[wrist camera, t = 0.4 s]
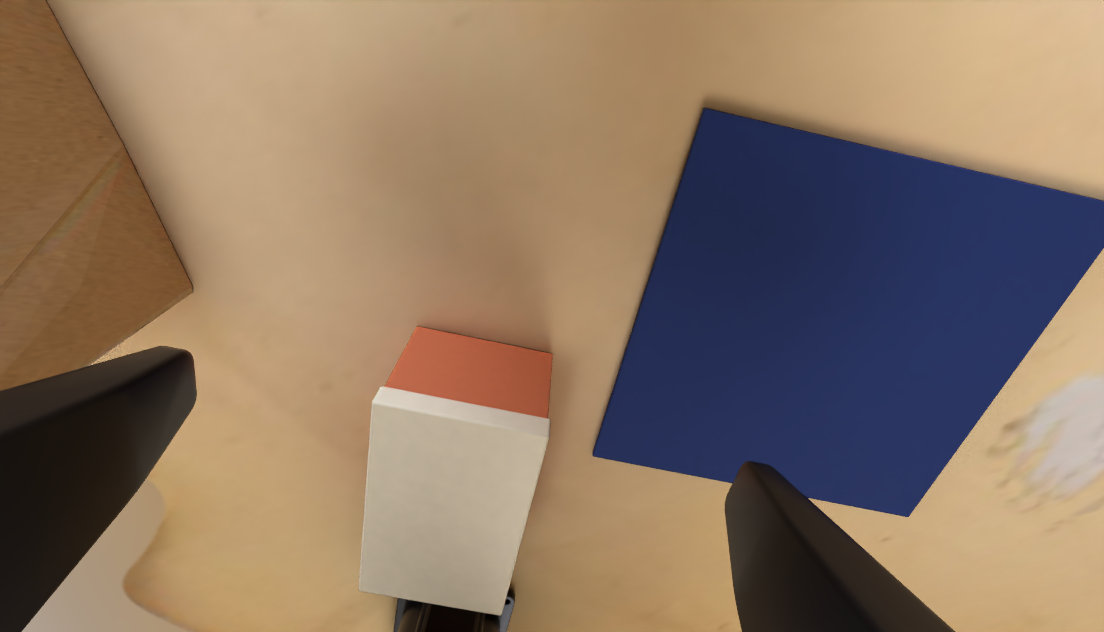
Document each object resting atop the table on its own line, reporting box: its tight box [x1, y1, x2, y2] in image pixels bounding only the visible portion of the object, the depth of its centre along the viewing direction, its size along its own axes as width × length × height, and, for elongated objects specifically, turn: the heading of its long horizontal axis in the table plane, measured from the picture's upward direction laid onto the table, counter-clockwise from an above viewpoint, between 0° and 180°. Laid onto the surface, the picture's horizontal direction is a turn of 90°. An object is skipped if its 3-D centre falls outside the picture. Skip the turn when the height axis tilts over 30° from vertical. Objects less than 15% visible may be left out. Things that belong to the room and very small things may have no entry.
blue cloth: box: [593, 108, 1104, 517], centre depth 23 cm, size 16×16×1 cm
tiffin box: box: [359, 327, 553, 615], centre depth 24 cm, size 10×6×6 cm, turn 168°
